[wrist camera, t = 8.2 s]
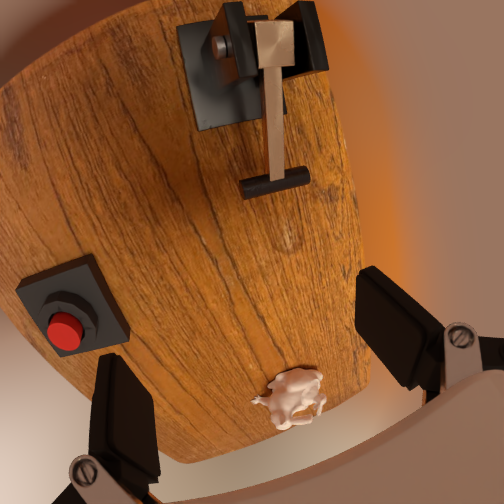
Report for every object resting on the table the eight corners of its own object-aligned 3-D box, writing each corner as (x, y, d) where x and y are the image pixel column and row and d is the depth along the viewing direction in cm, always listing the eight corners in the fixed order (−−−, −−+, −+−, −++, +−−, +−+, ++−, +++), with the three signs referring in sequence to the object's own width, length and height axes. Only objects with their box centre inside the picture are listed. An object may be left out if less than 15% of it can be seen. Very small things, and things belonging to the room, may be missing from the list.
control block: (63, 345, 28) (57, 368, 25) (22, 279, 23) (8, 299, 20) (130, 328, 30) (128, 352, 26) (92, 253, 25) (82, 273, 21)
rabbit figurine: (251, 403, 42) (269, 452, 34) (238, 380, 38) (257, 435, 30) (318, 376, 43) (345, 420, 35) (314, 349, 40) (345, 397, 31)
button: (63, 341, 24) (59, 353, 22) (45, 316, 22) (40, 327, 21) (89, 335, 24) (86, 347, 23) (72, 308, 23) (67, 319, 21)
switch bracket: (282, 114, 24) (358, 116, 14) (197, 131, 23) (219, 138, 13) (263, 18, 19) (326, -33, 9) (175, 30, 18) (184, -33, 8)
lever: (299, 174, 22) (313, 191, 20) (237, 189, 21) (247, 208, 19) (297, 19, 13) (317, 20, 11) (216, 24, 12) (226, 24, 10)
